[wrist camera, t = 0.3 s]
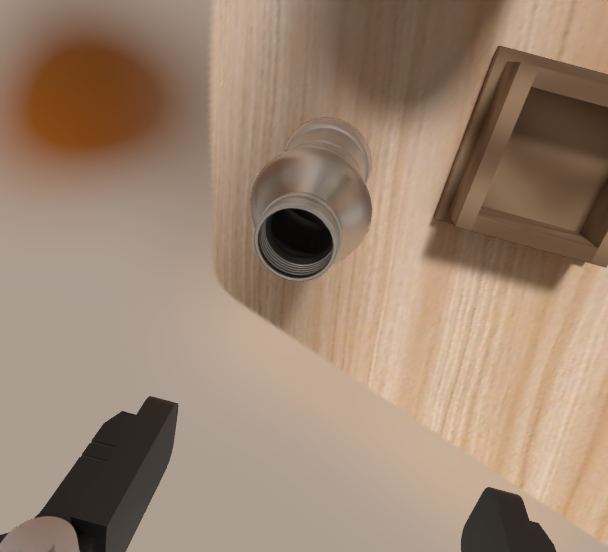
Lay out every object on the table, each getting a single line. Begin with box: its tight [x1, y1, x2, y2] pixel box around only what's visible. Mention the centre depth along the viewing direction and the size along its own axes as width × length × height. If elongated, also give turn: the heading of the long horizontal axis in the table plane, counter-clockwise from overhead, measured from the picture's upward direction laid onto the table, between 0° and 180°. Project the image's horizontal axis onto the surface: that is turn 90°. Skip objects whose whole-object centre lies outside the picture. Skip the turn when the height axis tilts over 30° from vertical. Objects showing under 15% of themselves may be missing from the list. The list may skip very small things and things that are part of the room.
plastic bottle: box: [250, 117, 372, 281], centre depth 31 cm, size 6×7×20 cm
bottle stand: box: [435, 46, 608, 267], centre depth 36 cm, size 13×13×4 cm
